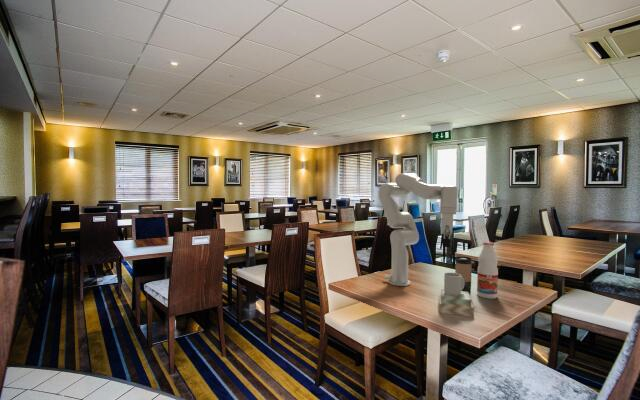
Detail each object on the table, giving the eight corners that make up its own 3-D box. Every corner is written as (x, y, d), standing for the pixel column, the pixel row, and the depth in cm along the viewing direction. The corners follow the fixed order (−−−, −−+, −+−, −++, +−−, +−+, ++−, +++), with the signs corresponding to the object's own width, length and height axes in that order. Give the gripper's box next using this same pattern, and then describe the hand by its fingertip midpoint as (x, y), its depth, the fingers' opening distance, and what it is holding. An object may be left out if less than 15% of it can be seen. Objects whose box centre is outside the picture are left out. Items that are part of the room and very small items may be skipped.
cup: (440, 292, 153) (441, 273, 153) (458, 290, 156) (459, 271, 155) (450, 296, 146) (451, 277, 146) (469, 295, 149) (469, 275, 148)
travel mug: (470, 295, 171) (470, 257, 170) (471, 299, 164) (472, 260, 163) (454, 293, 173) (455, 255, 173) (455, 297, 166) (456, 258, 166)
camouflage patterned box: (439, 312, 146) (439, 297, 146) (438, 302, 159) (438, 288, 159) (473, 316, 141) (474, 300, 141) (470, 305, 155) (470, 291, 154)
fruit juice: (496, 294, 172) (497, 241, 171) (498, 300, 163) (499, 244, 162) (476, 292, 176) (477, 240, 175) (477, 297, 167) (478, 243, 166)
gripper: (439, 208, 169) (438, 241, 171) (439, 211, 153) (437, 247, 154) (455, 209, 167) (453, 242, 168) (457, 212, 151) (455, 249, 152)
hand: (446, 245), depth 161 cm, fingers open, 9 cm apart
